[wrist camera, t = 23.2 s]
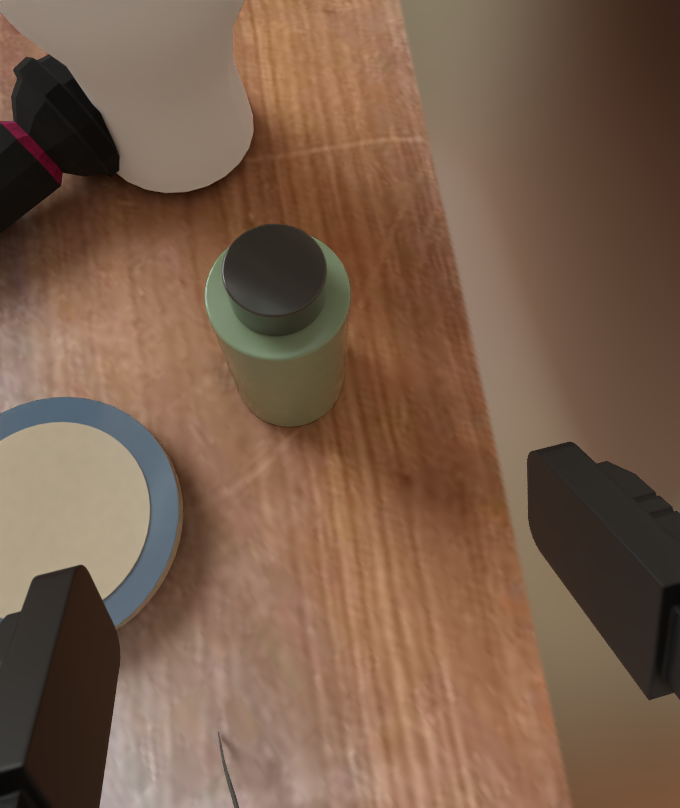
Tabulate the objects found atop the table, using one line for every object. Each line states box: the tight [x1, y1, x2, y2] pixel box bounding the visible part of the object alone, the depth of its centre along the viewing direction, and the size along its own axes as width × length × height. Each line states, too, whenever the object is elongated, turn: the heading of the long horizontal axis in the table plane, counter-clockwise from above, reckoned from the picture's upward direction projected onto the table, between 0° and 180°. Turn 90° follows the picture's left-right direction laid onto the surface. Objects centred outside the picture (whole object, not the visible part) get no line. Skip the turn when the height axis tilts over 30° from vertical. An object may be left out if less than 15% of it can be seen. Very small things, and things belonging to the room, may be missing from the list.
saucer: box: [0, 397, 183, 630], centre depth 25 cm, size 10×10×2 cm
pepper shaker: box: [204, 224, 351, 427], centre depth 23 cm, size 5×5×10 cm
